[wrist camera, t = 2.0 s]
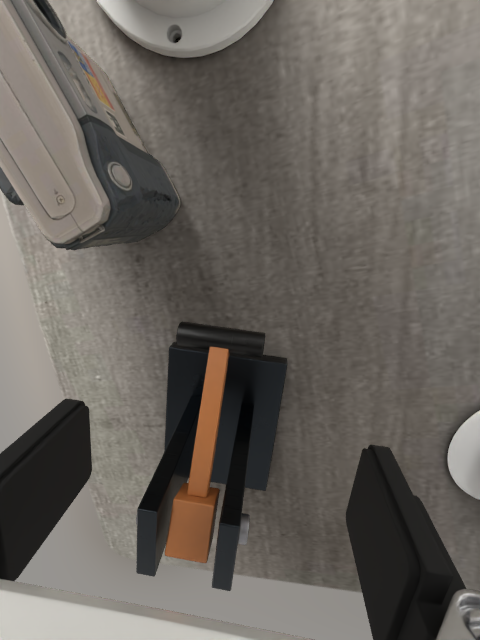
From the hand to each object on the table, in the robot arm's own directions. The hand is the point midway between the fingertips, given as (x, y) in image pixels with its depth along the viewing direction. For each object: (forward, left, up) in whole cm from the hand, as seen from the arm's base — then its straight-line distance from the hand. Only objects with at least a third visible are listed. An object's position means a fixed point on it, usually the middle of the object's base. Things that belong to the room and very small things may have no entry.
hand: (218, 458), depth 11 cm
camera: (-11, -10, -15) cm, 21 cm away
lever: (+5, -1, -7) cm, 9 cm away
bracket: (+8, -1, -14) cm, 17 cm away
